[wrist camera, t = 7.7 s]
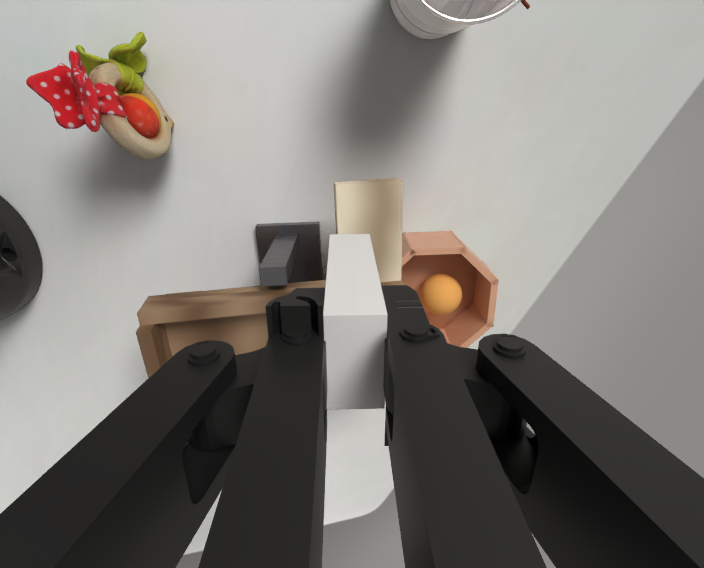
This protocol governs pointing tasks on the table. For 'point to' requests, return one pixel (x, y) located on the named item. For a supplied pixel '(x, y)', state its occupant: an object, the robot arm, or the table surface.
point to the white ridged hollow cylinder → (447, 14)
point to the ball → (441, 294)
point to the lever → (249, 302)
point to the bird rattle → (108, 98)
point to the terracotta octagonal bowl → (463, 265)
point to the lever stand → (289, 253)
